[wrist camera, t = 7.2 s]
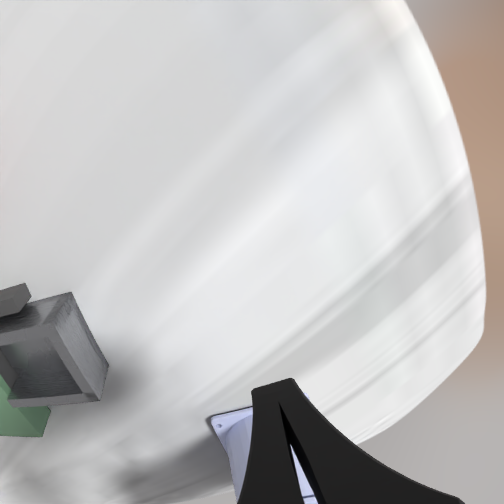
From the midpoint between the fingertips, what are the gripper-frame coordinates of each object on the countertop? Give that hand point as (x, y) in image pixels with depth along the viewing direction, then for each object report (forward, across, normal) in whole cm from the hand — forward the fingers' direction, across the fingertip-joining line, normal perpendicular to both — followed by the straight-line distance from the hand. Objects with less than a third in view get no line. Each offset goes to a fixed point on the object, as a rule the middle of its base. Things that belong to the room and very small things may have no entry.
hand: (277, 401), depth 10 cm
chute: (+10, +14, +1) cm, 17 cm away
